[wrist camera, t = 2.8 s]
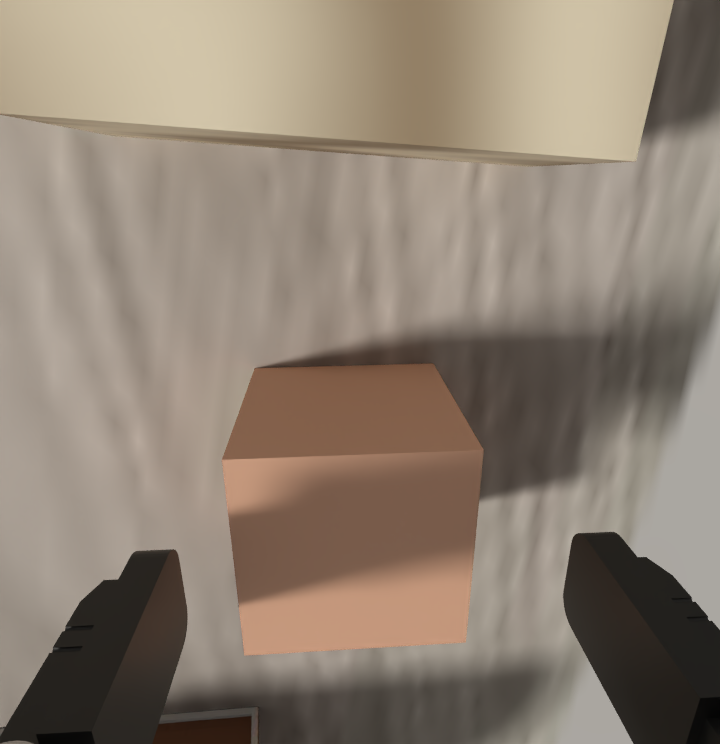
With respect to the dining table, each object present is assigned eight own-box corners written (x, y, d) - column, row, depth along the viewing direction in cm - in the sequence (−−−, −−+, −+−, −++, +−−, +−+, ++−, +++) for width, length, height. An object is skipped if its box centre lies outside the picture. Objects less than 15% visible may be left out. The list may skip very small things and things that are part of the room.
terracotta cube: (267, 516, 16) (244, 655, 11) (255, 366, 14) (222, 459, 10) (425, 509, 16) (465, 642, 12) (432, 362, 15) (483, 449, 10)
